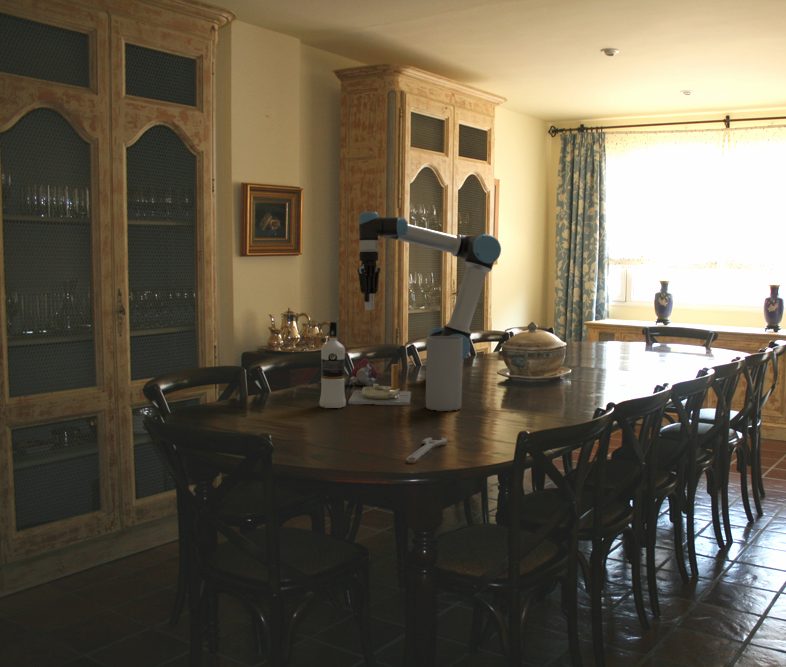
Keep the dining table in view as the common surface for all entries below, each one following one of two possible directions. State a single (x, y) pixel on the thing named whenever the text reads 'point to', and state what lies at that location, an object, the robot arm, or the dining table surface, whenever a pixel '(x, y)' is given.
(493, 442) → the dining table surface
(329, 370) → the vodka
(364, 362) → the brake caliper
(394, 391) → the cream rounded piece
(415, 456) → the adjustable wrench
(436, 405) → the cylinder vase
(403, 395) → the base plate
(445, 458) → the dining table surface
